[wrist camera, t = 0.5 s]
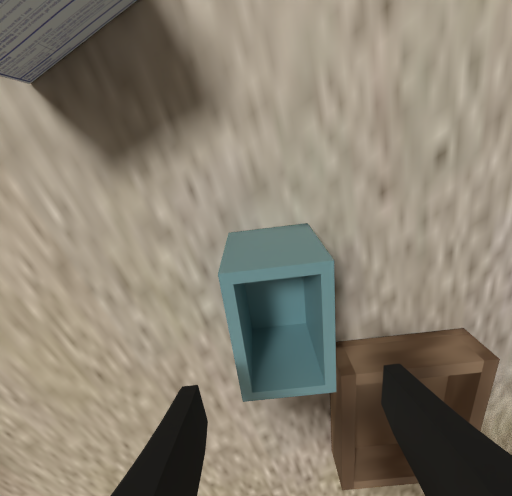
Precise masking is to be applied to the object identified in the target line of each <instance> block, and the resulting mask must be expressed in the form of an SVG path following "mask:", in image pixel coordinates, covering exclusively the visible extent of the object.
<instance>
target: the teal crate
mask: <svg viewBox="0 0 512 496" xmlns="http://www.w3.org/2000/svg"><path fill="white" fill-rule="evenodd" d="M218 277H219V282H220V287H221V292H222V297H223V303H224V308H225V313H226V318H227V323H228V328H229V333H230V338H231V343H232V349H233V354H234V359H235V364H236V369H237V374H238V379H239V384H240V389H241V394H242V400H243V402H245V401H255V400H265V399H274V398H284V397H294V396H304V395H313V394H323V393H333V392H336V343H335V286H334V260H333V258H332V257H331V255H330V254H329V253H328V251H327V250H326V249H325V247H324V246H323V244H322V243H321V242H320V240H319V239H318V237H317V236H316V235H315V233H314V232H313V230H312V229H311V228H310V226H309V225H308V223H306V224H297V225H289V226H281V227H273V228H265V229H257V230H249V231H240V232H232V233H229V234H228V238H227V241H226V245H225V249H224V253H223V257H222V261H221V264H220V268H219V272H218Z"/></svg>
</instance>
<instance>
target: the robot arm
mask: <svg viewBox="0 0 512 496" xmlns="http://www.w3.org/2000/svg"><path fill="white" fill-rule="evenodd" d="M381 405H382V407H383V410H384V412H385V415H386V418H387V420H388V422H389V425H390V427H391V430H392V432H393V434H394V436H395V438H396V440H397V442H398V444H399V446H400V448H401V450H402V452H403V454H404V456H405V458H406V460H407V461H408V463H409V465H410V467H411V469H412V471H413V473H414V475H415V477H416V479H417V480H418V482H419V484H420V486H421V488H422V490H423V492H424V494H425V496H512V455H510V454H509V453H508V452H506V451H505V450H504V449H502V448H501V447H500V446H498V445H497V444H496V443H494V442H493V441H492V440H490V439H489V438H488V437H487V436H485V435H484V434H483V433H481V432H480V431H479V430H478V429H476V428H475V427H474V426H473V425H471V424H470V423H469V422H468V421H466V420H465V419H464V418H463V417H461V416H460V415H459V414H458V413H457V412H455V411H454V410H453V409H452V408H451V407H449V406H448V405H447V404H446V403H445V402H443V401H442V400H441V399H440V398H439V397H438V396H436V395H435V394H434V393H433V392H432V391H431V390H429V389H428V388H427V387H426V386H425V385H424V384H423V383H421V382H420V381H419V380H418V379H417V378H416V377H415V376H414V375H412V374H411V373H410V372H409V371H408V370H407V369H406V368H405V367H403V366H402V365H401V364H390V365H384V367H383V382H382V396H381ZM207 424H208V420H207V417H206V413H205V409H204V406H203V402H202V398H201V395H200V391H199V387H198V385H193V386H184V387H182V388H181V389H180V391H179V392H178V394H177V396H176V397H175V399H174V401H173V403H172V404H171V406H170V408H169V409H168V411H167V413H166V414H165V416H164V418H163V419H162V421H161V423H160V424H159V426H158V427H157V429H156V431H155V432H154V434H153V435H152V437H151V438H150V440H149V441H148V443H147V445H146V446H145V448H144V449H143V451H142V452H141V454H140V455H139V456H138V458H137V459H136V461H135V462H134V464H133V465H132V467H131V468H130V469H129V471H128V472H127V474H126V475H125V477H124V478H123V479H122V481H121V482H120V484H119V485H118V486H117V488H116V489H115V490H114V492H113V493H112V494H111V496H197V493H198V488H199V482H200V477H201V472H202V466H203V461H204V455H205V447H206V437H207Z"/></svg>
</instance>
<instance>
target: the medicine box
mask: <svg viewBox="0 0 512 496" xmlns="http://www.w3.org/2000/svg"><path fill="white" fill-rule="evenodd" d="M136 1H137V0H0V76H1V77H5V78H9V79H13V80H17V81H20V82H24V83H28V84H30V83H32V82H33V81H34V80H36V79H37V78H38V77H39V76H41V75H42V74H43V73H45V72H46V71H47V70H48V69H50V68H51V67H52V66H53V65H55V64H56V63H57V62H59V61H60V60H61V59H62V58H64V57H65V56H66V55H68V54H69V53H70V52H71V51H73V50H74V49H75V48H76V47H78V46H79V45H80V44H82V43H83V42H84V41H86V40H87V39H88V38H89V37H91V36H92V35H93V34H94V33H96V32H97V31H98V30H100V29H101V28H102V27H103V26H105V25H106V24H107V23H109V22H110V21H111V20H112V19H114V18H115V17H116V16H118V15H119V14H120V13H121V12H123V11H124V10H125V9H127V8H128V7H129V6H130V5H132V4H133V3H134V2H136Z"/></svg>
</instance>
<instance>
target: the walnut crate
mask: <svg viewBox="0 0 512 496" xmlns="http://www.w3.org/2000/svg"><path fill="white" fill-rule="evenodd" d="M335 343H336V392H333V393H330V409H331V443H332V453H333V457H334V461H335V464H336V468H337V472H338V476H339V480H340V483H341V487H342V490H349V489H360V488H371V487H382V486H393V485H404V484H415V483H419V482H418V480H417V479H416V477H415V475H414V473H413V471H412V469H411V467H410V465H409V463H408V461H407V460H406V458H405V456H404V454H403V452H402V450H401V448H400V446H399V444H398V442H397V440H396V438H395V436H394V434H393V432H392V430H391V427H390V425H389V422H388V420H387V418H386V415H385V412H384V410H383V407H382V405H381V396H382V382H383V367H384V365H390V364H401V365H402V366H403V367H405V368H406V369H407V370H408V371H409V372H410V373H411V374H412V375H414V376H415V377H416V378H417V379H418V380H419V381H420V382H421V383H423V384H424V385H425V386H426V387H427V388H428V389H429V390H431V391H432V392H433V393H434V394H435V395H436V396H438V397H439V398H440V399H441V400H442V401H443V402H445V403H446V404H447V405H448V406H449V407H451V408H452V409H453V410H454V411H455V412H457V413H458V414H459V415H460V416H461V417H463V418H464V419H465V420H466V421H468V422H469V423H470V424H471V425H473V426H474V427H475V428H476V429H478V430H479V431H480V430H481V426H482V423H483V419H484V415H485V412H486V408H487V404H488V401H489V397H490V393H491V390H492V386H493V382H494V379H495V375H496V371H497V368H498V364H499V360H500V359H499V358H498V357H497V356H495V355H494V354H493V353H492V352H491V351H490V350H488V349H487V348H486V347H485V346H484V345H483V344H481V343H480V342H479V341H478V340H477V339H476V338H474V337H473V336H472V335H471V334H470V333H469V332H467V331H466V330H465V329H464V328H461V329H452V330H443V331H434V332H424V333H415V334H406V335H397V336H388V337H379V338H369V339H360V340H351V341H342V342H335Z"/></svg>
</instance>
